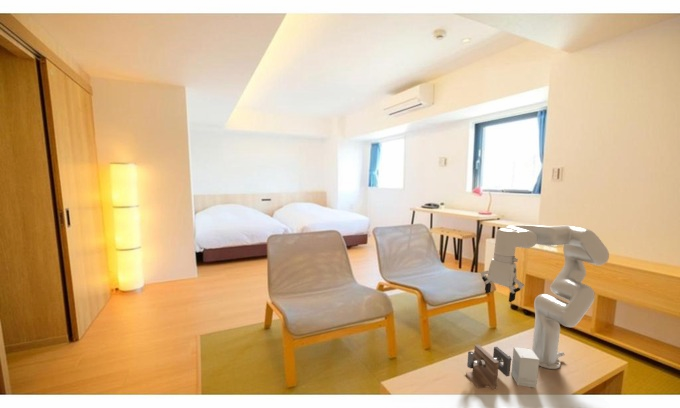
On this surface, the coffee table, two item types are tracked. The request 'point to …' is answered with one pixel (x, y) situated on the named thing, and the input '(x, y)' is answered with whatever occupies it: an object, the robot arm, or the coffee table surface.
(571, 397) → the coffee table surface
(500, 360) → the shaft
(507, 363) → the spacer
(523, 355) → the supplement box
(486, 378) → the bracket
